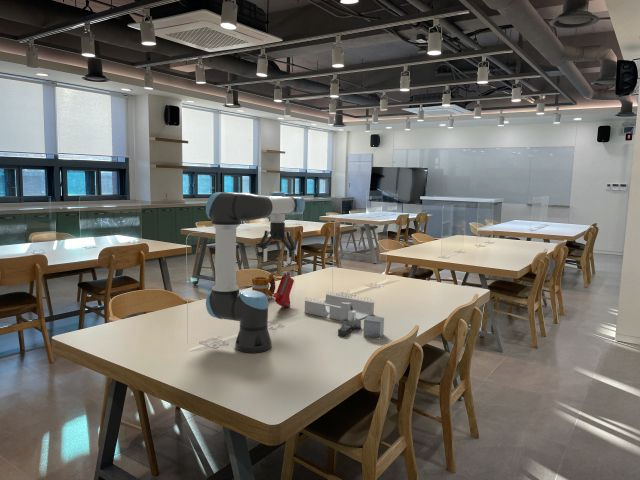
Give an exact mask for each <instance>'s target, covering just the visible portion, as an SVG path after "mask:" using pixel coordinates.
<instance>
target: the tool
mask: <svg viewBox="0 0 640 480" xmlns="http://www.w3.org/2000/svg"><path fill="white" fill-rule="evenodd" d="M294 283H295V280H294V279H293V278H292V276H291V273H290V271H288V270H287V271H286V272H283V274H282V276H281V278H280V282H279V285H278V287H277V289H276V292H274V294H273V296H272V297H271V298H274V299H275V300H274V302H275V303H276V304H277V305H278V306H280V307H281V308H283V307H284V308H290V307H291V297H290V295H291V291H292V288H293V285H294Z"/></svg>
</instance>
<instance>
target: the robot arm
mask: <svg viewBox="0 0 640 480" xmlns="http://www.w3.org/2000/svg"><path fill="white" fill-rule="evenodd" d="M305 208H306V200H305V198H304V197H299V196H286V193H285V192H284V191H272V192H270V195H259V194H254V193H247V192H229V191H228V192H227V191H226V192H225V191H221V192H220V191H219V192H218V191H217V192H214V193H212V194H211V195H210V196H209V198H208V199H207V202H206V205H205V214H206V215H207V216H206V217H207V218H208V219H209V220H211V225H212V226H213V227H214V230H215V232H214V233H215V245H214V247H215V251H214V253H215V255H214V256H215V257H214V259H215V260H214V261H215V264H214V266H215V268H214V269H215V274H214V275H215V282H214V285H213V286H212V287H211V290H210V291H209V292H208V293H207V295H206V296H207V297H206V299H205V307H206V311H207V313H208V314H209V315H210V317H212V318H216V319H219V320H228V321H236V322H239V330H238V334H237V337H236V338H235V339H236V340H235V345H234V346H235V350H237V351H239V352H241V353H242V352H243V353H252V354H253V353H255V354H256V353H263V352H266V351H269V350H270V349H271V348H272V339H271V336H270V332H269V329H268V328H269V327H268V322H269V321H268V319H269V300H268V298H267V296H266V295H265V294H264V293H262V292H259V291H254V290H252V289H251V290H250V289H249V290H248V289H247V290H241V291H240V287H239V285H237V274H236V273H237V229H238V227H239V226H240V225H241V223H240V222H249V221H255V220H260V219H267V218H269V216H270V218H269V220H270V224H269V225H270V230H268V229H267V230H264V234H263V236H262V238H261V241H260V243H259V244H258V248H261V253H262V256H263V262H267V261H268V248H267V247H268V246H269V245H270V244H271V242H272V241H273V240H274V241H275V240H278V241H281V242H282V243H283V244H284V246H285V247H286V249H287V253H286V254H287V256H286V257H287V258H286V264H287V265H289V264H291V261H292V260H291V259H292V258H293V251H296V249H297V247H296V245H295V243H294V241H293V238H292V235H291V231H286V223H285V221H286V214H289V213H296V214H298V213H299V214H301V213H304V211H305ZM269 235H270V237H269V238H268V236H269ZM267 238H268V239H267Z"/></svg>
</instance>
